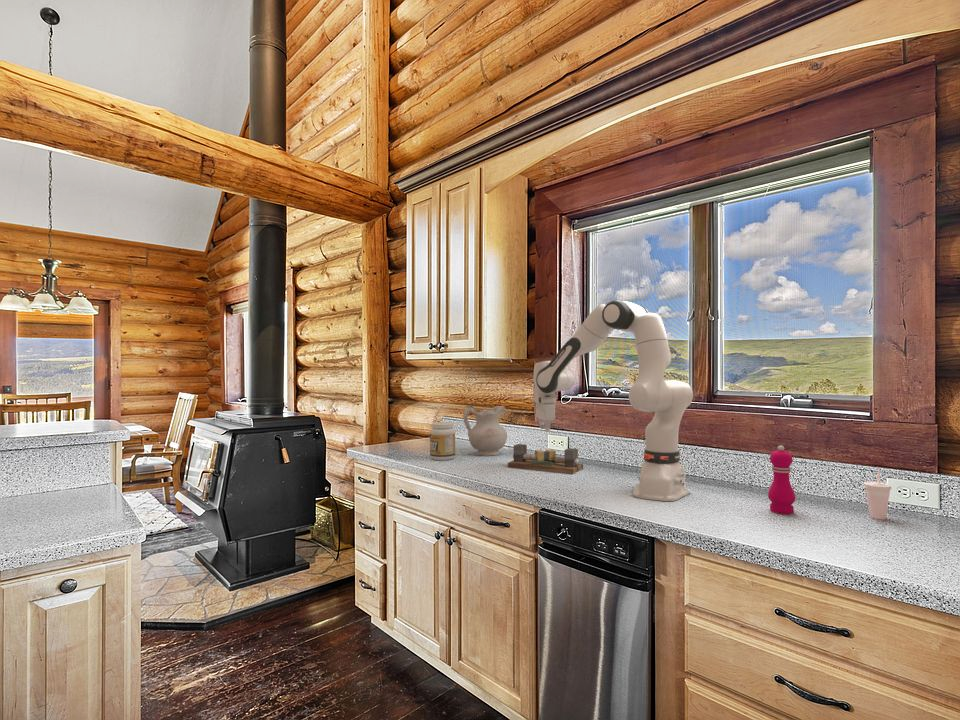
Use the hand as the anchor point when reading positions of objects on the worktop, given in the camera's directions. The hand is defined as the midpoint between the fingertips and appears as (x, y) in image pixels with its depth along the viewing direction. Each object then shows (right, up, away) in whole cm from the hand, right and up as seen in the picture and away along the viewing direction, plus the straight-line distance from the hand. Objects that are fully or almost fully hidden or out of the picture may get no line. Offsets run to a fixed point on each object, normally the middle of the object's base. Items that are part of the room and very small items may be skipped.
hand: (544, 430), depth 225 cm
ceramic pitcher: (-25, -17, +36) cm, 47 cm away
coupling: (0, -13, 0) cm, 13 cm away
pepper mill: (+64, -16, -66) cm, 93 cm away
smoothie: (+87, -16, -74) cm, 115 cm away
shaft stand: (0, -16, 0) cm, 16 cm away
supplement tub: (-46, -17, +25) cm, 55 cm away
